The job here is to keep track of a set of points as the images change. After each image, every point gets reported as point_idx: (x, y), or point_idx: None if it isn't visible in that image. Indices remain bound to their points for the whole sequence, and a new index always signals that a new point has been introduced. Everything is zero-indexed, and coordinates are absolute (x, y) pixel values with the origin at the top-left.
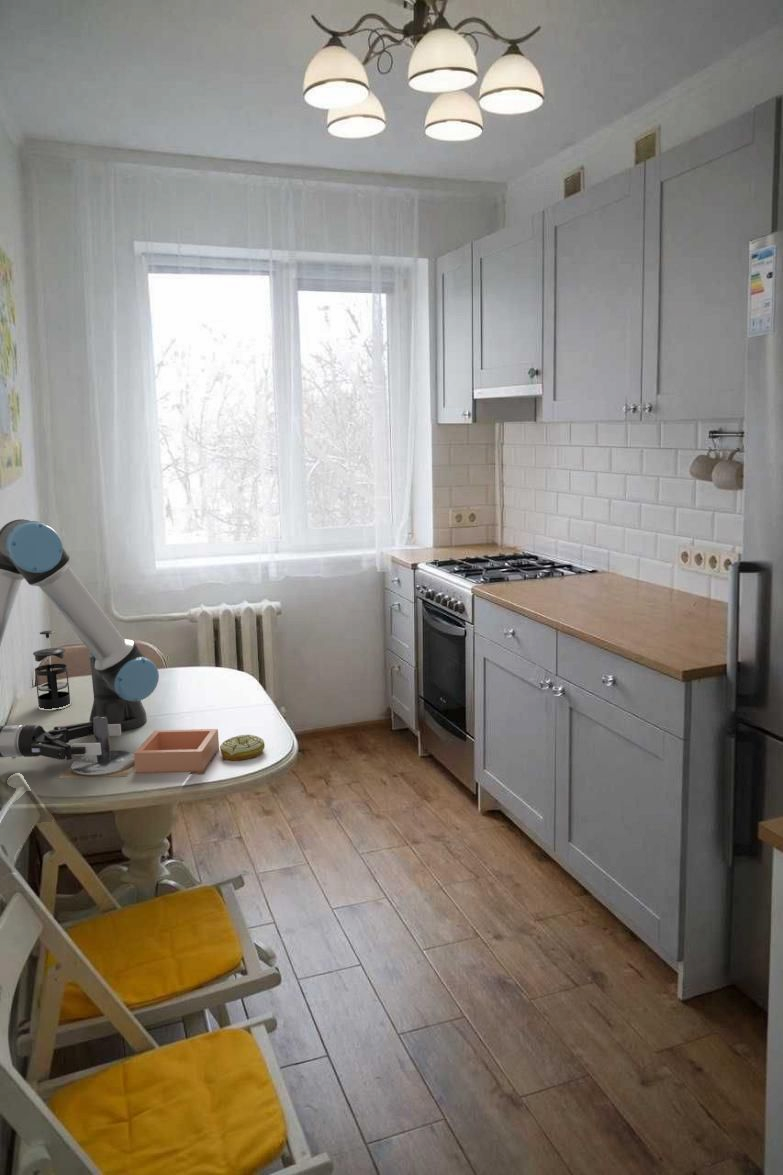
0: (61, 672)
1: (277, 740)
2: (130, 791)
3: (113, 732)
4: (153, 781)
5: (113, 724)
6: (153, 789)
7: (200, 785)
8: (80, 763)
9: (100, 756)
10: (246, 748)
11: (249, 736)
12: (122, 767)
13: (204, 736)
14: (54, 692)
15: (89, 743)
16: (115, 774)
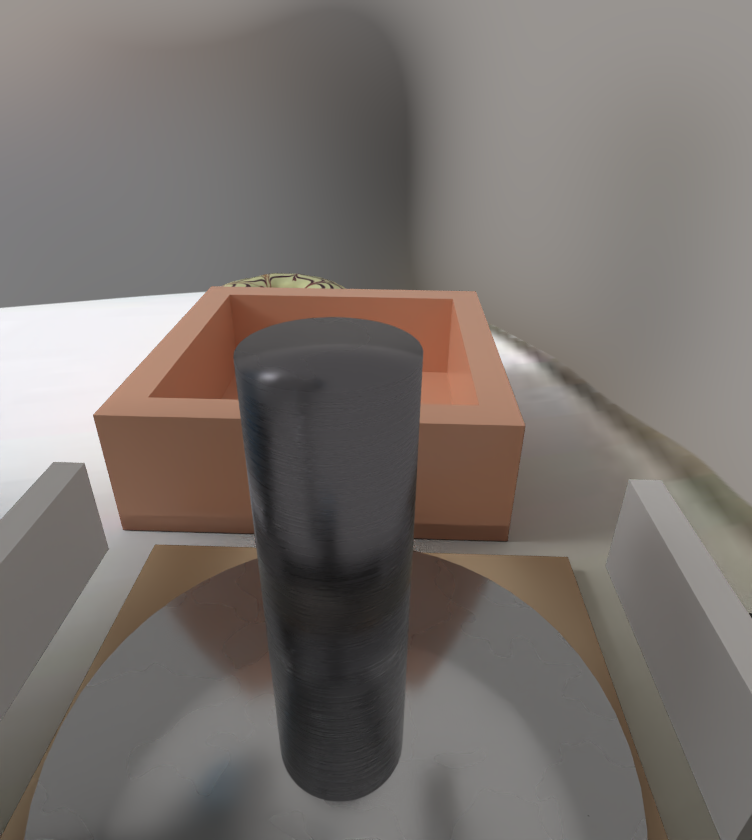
0: None
1: (192, 300)
2: (719, 519)
3: (68, 572)
4: (569, 470)
5: (27, 505)
6: (656, 456)
7: (571, 371)
8: None
9: (403, 703)
10: (344, 288)
11: (252, 280)
12: (480, 579)
13: (225, 326)
14: None
15: (688, 552)
16: (550, 618)
